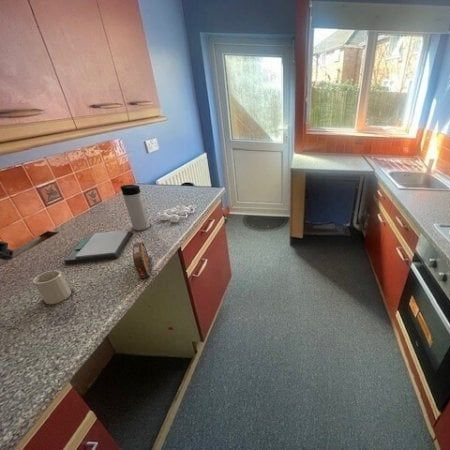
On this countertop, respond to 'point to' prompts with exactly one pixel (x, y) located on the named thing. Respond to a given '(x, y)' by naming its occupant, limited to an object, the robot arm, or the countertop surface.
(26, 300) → the countertop surface
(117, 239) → the scale
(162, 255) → the countertop surface
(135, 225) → the travel mug
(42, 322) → the countertop surface
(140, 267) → the tin
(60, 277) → the pot
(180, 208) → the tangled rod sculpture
